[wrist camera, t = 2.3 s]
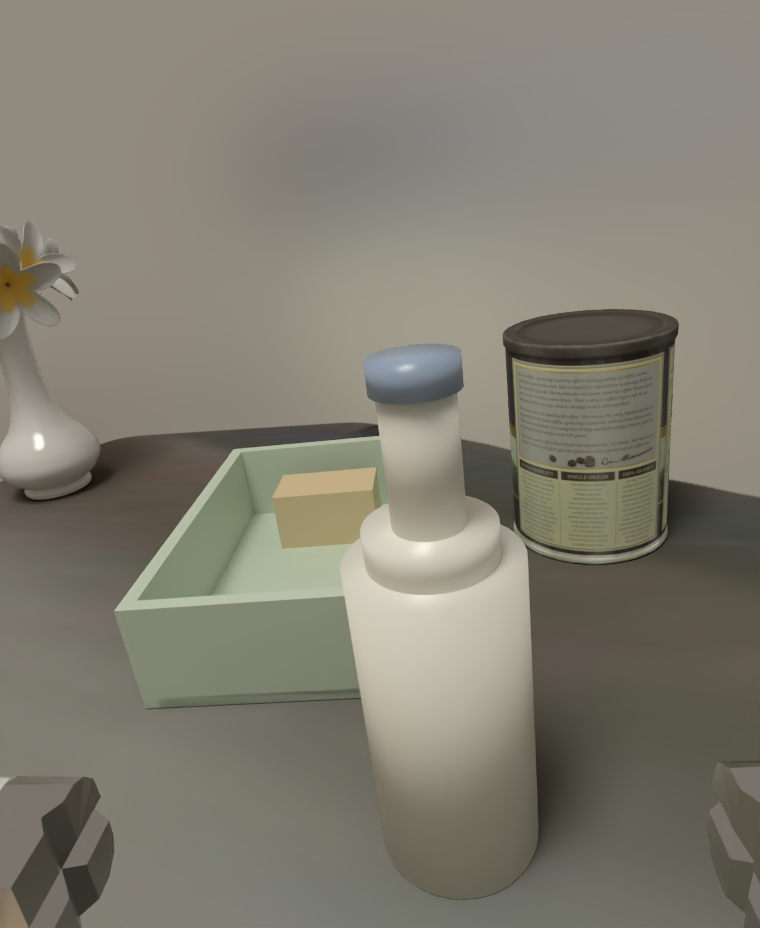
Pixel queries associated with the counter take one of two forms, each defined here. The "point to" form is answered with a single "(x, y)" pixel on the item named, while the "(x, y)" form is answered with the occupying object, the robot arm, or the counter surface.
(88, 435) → the flower vase
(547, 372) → the coffee can
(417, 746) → the milk bottle
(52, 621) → the counter surface
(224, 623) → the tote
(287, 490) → the butter block
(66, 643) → the counter surface
